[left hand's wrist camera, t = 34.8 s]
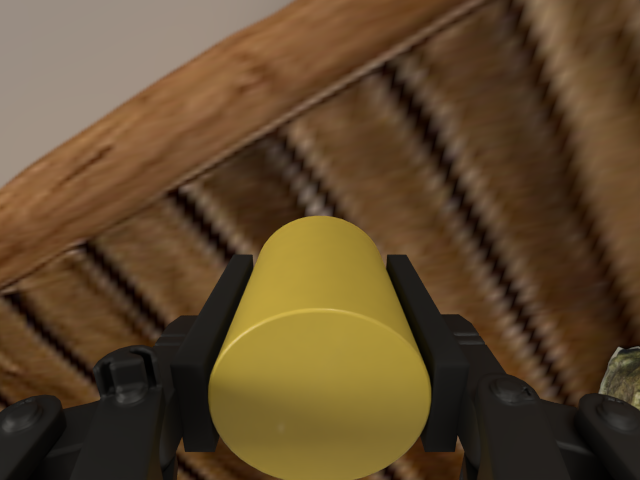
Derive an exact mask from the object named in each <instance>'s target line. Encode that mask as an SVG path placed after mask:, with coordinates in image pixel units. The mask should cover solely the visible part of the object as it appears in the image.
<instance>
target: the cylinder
mask: <svg viewBox="0 0 640 480" xmlns="http://www.w3.org/2000/svg"><path fill="white" fill-rule="evenodd" d="M208 404H209V411H210V415H211V418H212V421H213V424H214V426H215V428H216V430H217V432H218V434H219V435H220V437H221V438H222V440H223V441H224V443H225V444H226V445H227V446H228V447H229V448H230V449H231V451H233V452H234V453H235V454H236V455H237V456H238V457H239V458H240V459H242V460H243V461H245V462H246V463H248V464H249V465H251V466H252V467H254V468H256V469H258V470H260V471H262V472H264V473H266V474H269V475H271V476H274V477H277V478H280V479H284V480H356V479H359V478H363V477H365V476H368V475H371V474H373V473H376V472H378V471H380V470H381V469H383V468H385V467H387V466H389V465H390V464H392V463H393V462H395V461H396V460H397V459H399V458H400V457H401V456H402V455H403V454H405V453H406V452H407V451H408V450H409V449H410V447H411V446H412V445H413V444H414V443H415V442H416V440H417V439H418V437H419V436H420V434H421V432H422V431H423V429H424V427H425V425H426V422H427V419H428V416H429V412H430V406H431V384H430V379H429V375H428V372H427V369H426V367H425V364H424V362H423V359H422V357H421V354H420V352H419V349H418V347H417V344H416V342H415V339H414V337H413V334H412V332H411V329H410V327H409V325H408V322H407V320H406V317H405V315H404V312H403V310H402V307H401V305H400V302H399V300H398V297H397V295H396V292H395V290H394V288H393V285H392V283H391V280H390V278H389V275H388V273H387V270H386V268H385V265H384V263H383V260H382V258H381V255H380V253H379V251H378V249H377V247H376V245H375V244H374V242H373V241H372V240H371V238H370V237H369V236H368V235H367V234H366V233H365V232H363V231H362V230H361V229H360V228H358V227H357V226H355V225H353V224H351V223H349V222H347V221H345V220H342V219H338V218H335V217H328V216H312V217H305V218H301V219H298V220H295V221H293V222H290V223H288V224H286V225H285V226H283V227H281V228H280V229H279V230H277V231H276V232H275V233H274V234H273V235H272V236H271V237H270V238H269V239H268V241H267V242H266V243H265V245H264V246H263V248H262V250H261V252H260V255H259V257H258V260H257V262H256V264H255V267H254V269H253V272H252V274H251V277H250V279H249V282H248V284H247V286H246V289H245V291H244V294H243V296H242V299H241V301H240V304H239V306H238V309H237V311H236V313H235V316H234V318H233V321H232V323H231V326H230V328H229V331H228V333H227V335H226V338H225V340H224V343H223V345H222V348H221V350H220V353H219V355H218V358H217V360H216V362H215V365H214V367H213V370H212V372H211V375H210V380H209V385H208Z"/></svg>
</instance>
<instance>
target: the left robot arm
mask: <svg viewBox="0 0 640 480" xmlns="http://www.w3.org/2000/svg"><path fill="white" fill-rule="evenodd" d="M386 270H387V273H388V275H389V278H390V280H391V283H392V285H393V288H394V290H395V292H396V295H397V297H398V300H399V302H400V305H401V307H402V310H403V312H404V315H405V317H406V320H407V322H408V325H409V327H410V329H411V332H412V334H413V337H414V339H415V342H416V344H417V347H418V349H419V352H420V354H421V357H422V359H423V362H424V364H425V367H426V369H427V372H428V375H429V379H430V384H431V406H430V412H429V416H428V419H427V422H426V425H425V427H424V429H423V431H422V432H421V434H420V437H421V440H422V443H423V447H424V450H425V452H455V447H456V441H457V436H458V437H459V439H460V442H461V444H462V446H463V449H464V451H465V452H464V457H463V463H462V468H461V473H460V478H459V480H640V410H639V409H637V408H636V407H634V406H632V405H631V404H629V403H627V402H625V401H623V400H621V399H618V398H615V397H612V396H609V395H605V394H598V393H592V394H586V395H584V396H583V397H582V398H581V399H580V401H579V404H578V407H577V408H576V407H571V406H567V405H563V404H558V403H554V402H550V401H546V400H543V399H540V398H539V396H538V395H537V393H536V392H535V390H534V389H533V388H532V387H531V386H529V385H528V384H527V383H526V382H524V381H522V380H520V379H519V378H517V377H515V376H512V375H508V374H506V372H505V371H504V369H503V368H502V367H501V365H500V364H499V362H498V361H497V359H496V358H495V357H494V355H493V354H492V352H491V351H490V349H489V348H488V346H487V345H485V342H484V341H483V339H482V338H481V336H479V334H478V332H477V331H476V329H475V328H474V326H473V325H472V324H471V323H470V322H469V321H467V320H466V319H465V318H463V317H462V316H460V315H459V314H440V312H439V310H438V309H437V307H436V305H435V304H434V302H433V300H432V298H431V297H430V295H429V293H428V291H427V290H426V288H425V286H424V285H423V283H422V281H421V279H420V278H419V276H418V274H417V273H416V271H415V269H414V267H413V266H412V264H411V262H410V260H409V259H408V257H407V255H387V265H386ZM252 272H253V255H233V257H232V258H231V260H230V262H229V263H228V265H227V267H226V269H225V270H224V272H223V274H222V276H221V277H220V279H219V281H218V282H217V284H216V286H215V288H214V289H213V291H212V293H211V295H210V296H209V298H208V300H207V301H206V303H205V305H204V307H203V308H202V310H201V312H200V313H199V315H198V316H180V317H178V318H177V319H176V320H174V321H173V322H171V323H170V324H169V325H168V326H167V327H166V329H165V330H164V332H163V333H162V335H161V337H160V338H159V339H158V340H157V342H156V343H155V346H153V348H152V347H148V346H144V345H134V346H128V347H124V348H120V349H118V350H116V351H113V352H111V353H109V354H107V355H106V356H105V357H103V358H102V359H100V360H99V361H98V362H97V364H96V365H95V366H94V368H93V372H94V375H95V379H96V383H97V386H98V390H99V394H100V400H99V401H95V402H92V403H88V404H84V405H79V406H75V407H71V408H66V409H63V408H62V405H61V402H60V400H59V399H58V398H56V397H55V396H51V395H39V396H33V397H30V398H27V399H24V400H21V401H18V402H16V403H14V404H13V405H11V406H9V407H7V408H5V409H4V410H2V411H1V412H0V480H177V471H178V464H177V457H176V450H177V448H178V445H179V443H180V440H181V438H182V437H183V443H184V448H185V452H215V449H216V446H217V443H218V439H219V436H220V435H219V434H218V432H217V430H216V428H215V426H214V424H213V421H212V418H211V415H210V411H209V404H208V385H209V380H210V375H211V372H212V370H213V367H214V365H215V362H216V360H217V358H218V355H219V353H220V350H221V348H222V345H223V343H224V340H225V338H226V335H227V333H228V331H229V328H230V326H231V323H232V321H233V318H234V316H235V313H236V311H237V309H238V306H239V304H240V301H241V299H242V296H243V294H244V291H245V289H246V286H247V284H248V282H249V279H250V277H251V274H252Z"/></svg>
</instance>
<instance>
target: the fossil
mask: <svg viewBox="0 0 640 480" xmlns="http://www.w3.org/2000/svg"><path fill="white" fill-rule="evenodd" d="M598 394H605V395H609V396H612V397H615V398H618V399H621V400H623V401H625V402H627V403H629V404H631V405H632V406H634V407H636V408H637V409H639V410H640V347H639V346H638V347H633V348H630V349H627V350H626V349H623V348H620V347H618V348H617V350H616V351H615V353H614V354H613V356H612V357H611V359H610V361H609V363H608V369H607V371H606V373H605V376H604V378H603V380H602V383H601V387H600V391H599V393H598Z"/></svg>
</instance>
